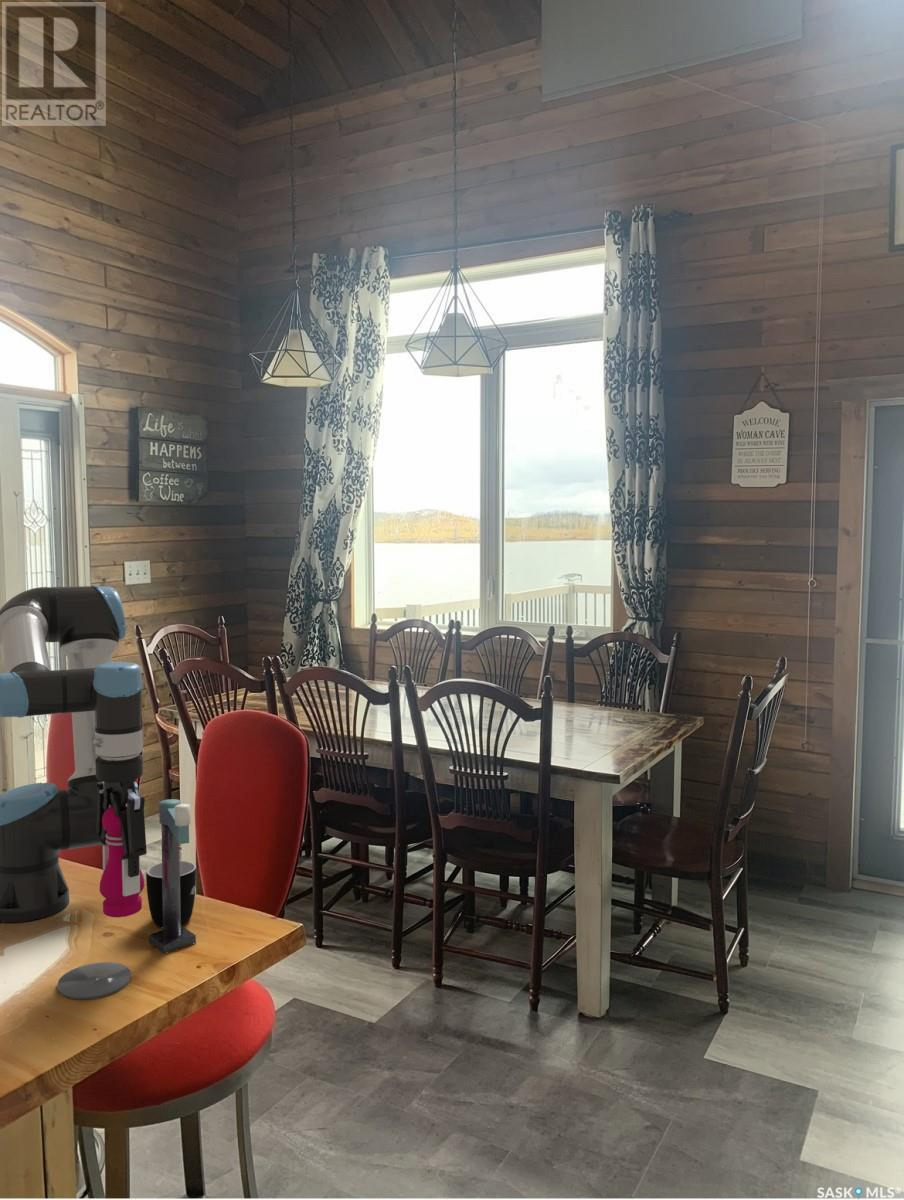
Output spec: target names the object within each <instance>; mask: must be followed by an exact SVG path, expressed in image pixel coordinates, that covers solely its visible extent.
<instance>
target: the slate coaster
mask: <svg viewBox="0 0 904 1200" xmlns="http://www.w3.org/2000/svg"><path fill="white" fill-rule="evenodd" d="M131 973H132V972H131V969H130V968H129V967H128V966H127V965H125V964H123V963H119V962H112V961H111V962H109V961H108V962H105V961H104V962H94V963H88V964H85V965H82V966H81V965H80V966H77V967H75V968H73V969H70V970H69V971H67V972H65V973H64V974H63V975H62V976H61V977H60V978H58V979H59V980H58V982H57V992H58V994H59V995H61V997H63V998H67V999H69V998H71V999H70V1000H76V999H77V1000H78V999H79V1000H80V1001H81V999H82V1000H83V999H87V1000H93V999H94V998H95V999H99V998H98V997H100V998H104V997H107V996H110V995H112V994H115V993H117V992H119V991H121V990H122V989H124V988H125V987H126V986H127V985H128V984H129V983H130V981H131V977H132V976H131ZM103 996H104V997H103ZM79 1000H78V1001H79ZM83 1001H84V1000H83Z"/></svg>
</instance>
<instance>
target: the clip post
mask: <svg viewBox="0 0 904 1200" xmlns="http://www.w3.org/2000/svg"><path fill="white" fill-rule="evenodd" d="M160 826H161V827H160V828H161V863H162V892H163V928H162V930H158V931H155V932H151V933H149V934H148V941H147V942H148V944H149V945H151V944H152V945H151V946H152V947H154V948H155V949H157V950H158V951H160V952H162V953H163V954H164V955H165V954H167V952H168V953H170V951H171V952H173V950H174V951H177V950H180V949H183V948H186V947H188V945H189V946H191V944H192V945H194V944H193V943H195V944H197V936H196V935H197V934H195V933H193V932H192V931H190V930H189V929H187V928H186V927H184V926H183V925H182V926H181V912H180V861H181V860H180V859H181V858H180V857H181V856H180V855H181V854H180V853H181V852H180V844H179V843H178V842H177V840H176V838H175V837H174V835H173V834H172V832H171V830H170V829H169V827H168V825H163V824H160ZM185 946H186V947H185ZM182 947H183V948H182ZM179 948H180V949H179ZM176 949H177V950H176Z"/></svg>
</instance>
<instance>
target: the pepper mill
mask: <svg viewBox="0 0 904 1200" xmlns="http://www.w3.org/2000/svg"><path fill="white" fill-rule="evenodd" d="M126 811H127V810H124V811H121V812H126ZM102 825H103V828H104V829H105V830H106V831H107V832H108V833H107V834H106V835H105V836H106V843H107V844H108V845H109V858H108V862H107V865H106V868H105V870H104V872H103V871H102V875H101V878H100V882H99V893H100V895H101V896H102V897H103V898H104V900H103V902H102V912H103V915H105V916H107V917H110V918H125V917H129V916H132V915H135V914H137V913H139V912H140V911H141V910H142V908H143V898H142V896H141V895H140V894H141V893H142V892H143V890H144V887H145V877H144V874H143V872H142V870H141V868H140V892H139V893H136V894H132V895H128V896H125V897H124V896H123V887H122V859H121V856H125V854H124V848H123V842H122V836H121V830H120V828H121V823H120V818H117V817H116V816H115V812H114V807H113V806H110V807H109V808H108V809H107V810H106V811H105V812H104V814H103V817H102Z"/></svg>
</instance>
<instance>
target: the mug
mask: <svg viewBox="0 0 904 1200" xmlns="http://www.w3.org/2000/svg"><path fill="white" fill-rule="evenodd" d="M145 878H146V879H145V883H146V893H147V901H148V908H149V913H150V916H151V920H152V922H153V923H154V925H155V926H156V927H158V928H161V927H163V892H162V862H158V863H155V864H153V865H151V866H149V867H148V868H147V870H146V871H145ZM196 887H197V866H196V864H194V863H193V862H190V861H188V860H180V912H181V925H182V926H185V925H186V924H187V923H189V921H190V920H191V918H192V915H193V911H194V907H195V906H194V905H195V898H196V897H195V896H196Z"/></svg>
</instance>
